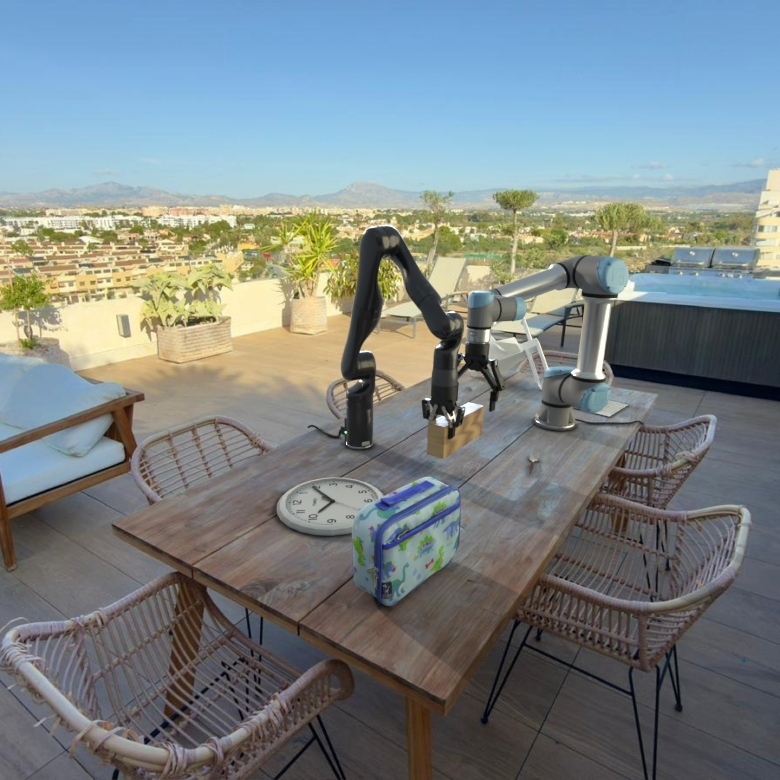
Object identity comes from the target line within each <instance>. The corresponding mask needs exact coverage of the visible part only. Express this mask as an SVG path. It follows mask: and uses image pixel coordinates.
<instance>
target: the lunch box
mask: <svg viewBox="0 0 780 780" xmlns="http://www.w3.org/2000/svg"><path fill="white" fill-rule="evenodd" d="M461 499H462V497H461V491H460V489H459V488H458V487H457V486H455V485H450V486H449V485H447V484H445V483H444V482H442V481H440V480H438V479H436V478H434V477H432V476H424V477H421V478H419V479H416V480H414V481H412V482H410V483H407V484H405V485H404V486H401V487H399V488H397V489H395V490H392V491H391V492H390V493H386V494H384V496H383V497H381V498H379V499H377V500H375V501H373V502H371V503H369V504H367V505H365V506H364V507H362V508H361V509H360V510H359V512H358V513H357V515H356V516H355V518H354V521H353V526H352V533H351V550H352V576H353V581H354V584H355V587H356V588H358V589H360V590H362V591H364V592H366V593H368V594H370V596H372V597H374V598H375V599H377V601H378V603H379V604H382V605H383V606H385V607H393V606H394V605H396V604H397V603H399V602H400V601H402V599H404V598H405V597H406V596H407V595H409V594H410V593H411V592H413V591H414V590H415V589H416V588H418V587H419V586H420V585H422V584H423V583H424V582H425V581H427V580H428V579H429V578H430V577H432V575H434V574H435V573H437V572H439V571H441V570H442V569H443V568H445V567H446V566H448V565H449V564H450V562H452V560H453V559H454V557H455V555H456V553H457V551H458V549H459V544H460V537H461V519H462V515H461V513H462V512H461V510H462V507H461V505H462V504H461V503H462V502H461Z"/></svg>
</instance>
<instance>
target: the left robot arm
mask: <svg viewBox="0 0 780 780" xmlns="http://www.w3.org/2000/svg"><path fill="white" fill-rule="evenodd" d="M358 251H359V252H358V266H357V276H356V282H355V291H354V297H353V301H352V307H351V312H350V313H351V314H350V321H349V327H348V332H347V337H346V341H345V344H344V347H343V351H342V355H341V360H340V373H341V376H342V378H343V379H344V380H345V381H356V382H355V383H354V384H353V385H352V386H350V387H349V388H347V390H346V391H345V406H346V407H345V408H346V409H345V412H346V414H345V415H346V417H344V420H343V421H344V422H343V423H344V424H343V425H340V429H339V431H338V435H333V434H331V433H329V432H326V431H325V430H324V429H322V428H320V427H318V426H317V425H315V424H309V425H307V427H306V428H307V429H310V428H314V429H316V430H318V431H319V432H321V433H323V434H324V435H326V436H328V437H330V438H332V439H333V438H335V439H338V438H340V437H341V435H343V436H344V444H345V445H346V447H347V448H348V449H351V450H358V451H362V450H368V449H370V448H372V447H373V446H374V395H375V392H376V391H375V389H376V378H377V377H376V376H377V362H376V357H375V355H374V354H373V352H371V351H370V350H362V347H363V345H364V344H365V342H366V340H367V339H368V338H369V336H370V335H371V334H373V332H374V331H375V329H376V328H377V327H378V325H379V323H380V321H381V316H382V312H383V308H384V307H383V306H384V297H383V296H384V295H383V293H382V289H381V286H380V283H379V271H380V266H381V263H382V260H384V259H390V260H391V262H393V263H394V265H395V266H396V267H397V269H398V270H399V272H400V275H401V278H402V282H403V286H404V289H405V292H406V294H407V296H408V297H409V299H410V300H411V301H412V302H413V304H414V305H415V307H416V308H417V309H418V310H419V311H420V313H421V315H422V318H423V320H424V322H425V324H426V327H427V328H428V330H429V332H430V333H431V334H432V335H433V337H435V338H437V339H438V340H439V343H438V345H437V346H435V348H434V350H433V357H432V360H433V361H432V370H431V382H430V383H431V384H430V398H429V397H426V398H424V399H422V400H421V409H422V418H423V419H424V420H426V421H428V422H427V423H429V422H431V421H433V420H435V419H437V418H438V416H444V417H445V418H446V421H448V424H449V428H448V439H450V440H451V439H452V438H453V437H455V429H456V428H457V427H459V426H461V425H462V423H463V418H464V414H465V410H466V408H465V407H460V406H461V405H458V404H457V401H456V397H457V383H458V382H459V379H458V371H459V370H458V368H459V366H458V353H459V351H460V348H461V345H462V340H463V337H464V333H465V323H464V318H463V316H462V315H461V314H460V313H458V311H457V312H456V311H448V312H446V311H444V308H442V306H441V305H442V303H443V299H442V297H441V295H440V294H439V292H438V291H437V290H436V288H435V287H434V286H433V285H432V283H430V281H429V280H428V278H427V277H426V275H424V273H423V271H422V270H421V268H420V266H419V265H418V263H417V261H416V260H415V258H414V256H413V254H412V253H411V250H410V249H409V248H408V245H407V244H406V242H405V240H404V238H403V236H402V235H401V233H400V232H399V230H398V229H397V228H396V227H394V226H393V225H390V224H383V225H375V226H370V227H368V228H366V229H364V231H363V232H362V234H361V237H360V241H359V249H358ZM457 367H458V368H457ZM431 408H432V409H431ZM454 410H456V414H457V416H456V420H455V414H454ZM449 415H450V416H449ZM319 428H320V429H319Z"/></svg>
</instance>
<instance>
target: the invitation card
mask: <svg viewBox="0 0 780 780" xmlns="http://www.w3.org/2000/svg"><path fill="white" fill-rule="evenodd" d="M628 406H629V404H627V403H623V402H618V401H614V400H610V399H609V402H608V403H607V405H606V406H605V407H604V408H603V409H602V410H600V411H599V412H596V413H595V414H596V415H600V416H604V417H608V418H609V417H611V416H613V415H614V414H616V413H617V412H619V411H621V410H623V409H624V408H626V407H628ZM573 409H575V410H578V409H577V408H575V407H573Z"/></svg>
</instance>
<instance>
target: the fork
mask: <svg viewBox="0 0 780 780" xmlns="http://www.w3.org/2000/svg"><path fill="white" fill-rule="evenodd" d="M538 460H539V453H537V452H535V451H533V450H531V452H530V456H529V461H531V463H530V465H529V475H531V474H532V472H533V470H534V462H538Z"/></svg>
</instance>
